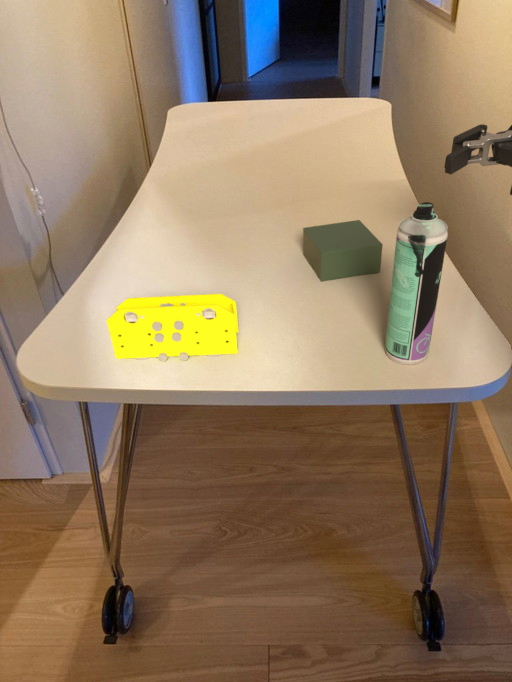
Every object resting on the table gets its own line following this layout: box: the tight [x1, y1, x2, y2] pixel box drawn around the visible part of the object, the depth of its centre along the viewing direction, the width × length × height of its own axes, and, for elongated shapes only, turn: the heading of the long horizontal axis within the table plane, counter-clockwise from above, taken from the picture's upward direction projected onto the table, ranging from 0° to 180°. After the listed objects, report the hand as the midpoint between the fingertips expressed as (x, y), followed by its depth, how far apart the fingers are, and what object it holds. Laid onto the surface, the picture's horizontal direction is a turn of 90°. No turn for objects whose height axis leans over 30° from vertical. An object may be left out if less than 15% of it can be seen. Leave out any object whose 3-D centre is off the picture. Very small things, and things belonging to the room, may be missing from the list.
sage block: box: [302, 219, 383, 282], centre depth 90 cm, size 10×10×5 cm
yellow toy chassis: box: [106, 293, 240, 363], centre depth 72 cm, size 16×6×8 cm, turn 90°
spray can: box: [384, 201, 449, 366], centre depth 65 cm, size 6×6×20 cm
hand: (479, 176), depth 63 cm, fingers open, 8 cm apart
